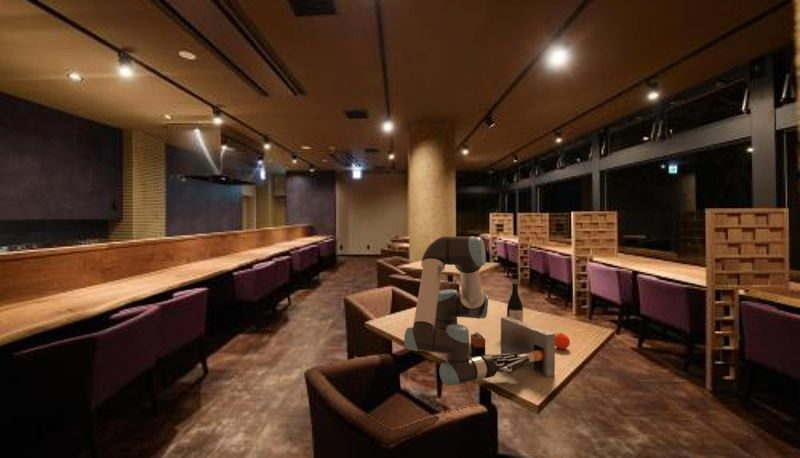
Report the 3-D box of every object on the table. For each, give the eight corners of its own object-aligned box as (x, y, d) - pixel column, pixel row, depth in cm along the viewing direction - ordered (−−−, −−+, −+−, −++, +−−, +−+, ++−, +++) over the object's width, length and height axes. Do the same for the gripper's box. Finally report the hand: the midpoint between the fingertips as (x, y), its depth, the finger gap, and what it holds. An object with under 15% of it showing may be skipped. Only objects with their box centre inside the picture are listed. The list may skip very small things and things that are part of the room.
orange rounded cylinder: (529, 359, 139) (529, 350, 139) (539, 357, 141) (539, 348, 141) (536, 362, 136) (536, 353, 136) (546, 360, 138) (546, 351, 138)
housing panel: (500, 353, 159) (500, 317, 159) (508, 352, 161) (508, 316, 160) (546, 377, 135) (546, 335, 135) (554, 375, 137) (554, 333, 136)
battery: (480, 354, 158) (480, 331, 157) (485, 360, 151) (485, 336, 151) (470, 354, 157) (470, 332, 157) (475, 361, 150) (475, 337, 150)
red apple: (547, 346, 168) (548, 331, 167) (559, 344, 170) (559, 329, 170) (561, 352, 160) (561, 336, 160) (573, 350, 163) (573, 334, 163)
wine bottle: (524, 332, 189) (525, 274, 188) (509, 332, 189) (509, 274, 188) (520, 327, 197) (520, 272, 196) (505, 327, 197) (505, 272, 196)
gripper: (470, 370, 134) (520, 360, 144) (493, 385, 122) (546, 373, 132) (470, 350, 134) (520, 341, 143) (493, 363, 122) (546, 352, 131)
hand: (532, 356), depth 137 cm, fingers closed
